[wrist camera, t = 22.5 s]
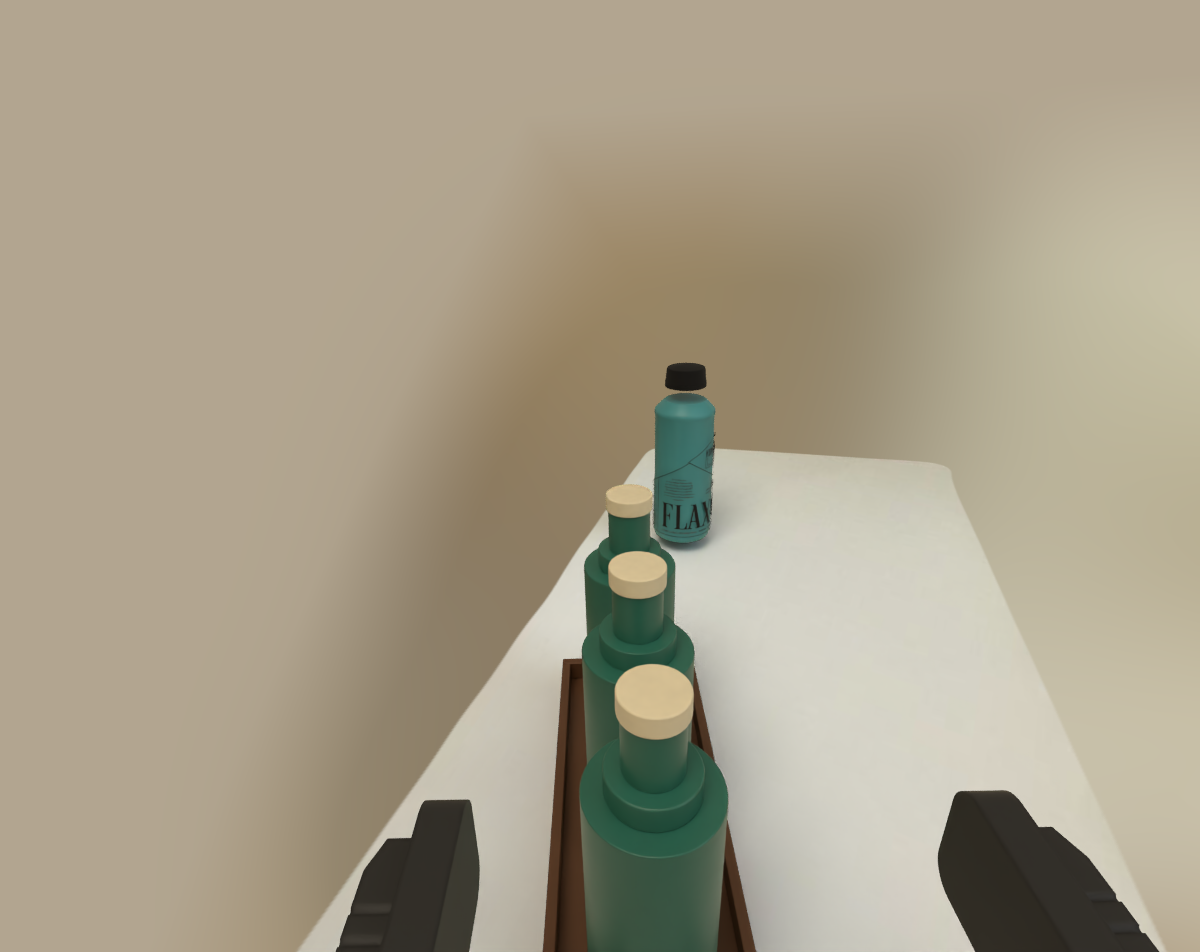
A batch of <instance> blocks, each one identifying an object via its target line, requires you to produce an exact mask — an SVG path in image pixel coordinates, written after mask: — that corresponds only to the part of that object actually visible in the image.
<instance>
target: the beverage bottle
mask: <svg viewBox="0 0 1200 952" xmlns="http://www.w3.org/2000/svg"><path fill="white" fill-rule="evenodd" d="M665 386H666V387H667V388H669V389H673V390H679V391H693V390H699V389H703V388H705V387H706V370H705V367H704V366H703V365H700V364H696V363H677V364H672V365H670V366H668V368H667V373H666V380H665ZM714 415H715V407H714V406H713V405H712V404H711V403H710V402H709V401H708V400H707V399H706V398H705V397H704V396H701V395H698V394H692V393H679V394H673V395H669V396H667V397H666V398H664V399H663V400H662V401H661V402H660V403H659V404H658V405H657V406H656V407H655V478H654V484H653V485H654V495H653V496H654V506H653V507H654V510H653V508H652V511H654V514H653V515H654V516H653V517H654V521H653V522H654V523H653V524H654V526H653V527H654V529H655V532H656V534H657V535H658V536H660V537H661V538H663V539H665V540H668V541H672V542H680V543H686V542H694V541H697V540H700V539H702V538H704V537H705V536H706V535H707V533H708V530H709V529H710V528H709V526H710V524H711V523H710V519H711V518H710V514H712V506H711V505H712V499H711V490H712V489H711V487H712V486H713V484H712V485H711V483H713V482H712V480H713V479H712V475H713V474H712V465H713V464H712V462H714V461H713V459H714V458H713V457H714V456H713V455H714V450H715V445H713V443H714V440H713V439H714V436H715V435H714ZM713 466H714V465H713ZM712 494H713V493H712ZM653 524H652V525H653Z"/></svg>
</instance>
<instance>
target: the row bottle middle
mask: <svg viewBox="0 0 1200 952" xmlns="http://www.w3.org/2000/svg"><path fill="white" fill-rule="evenodd" d="M608 575H609V586H610V588H611V589H612V613H611V614H609V615H608V616H607V617H606V618H604V620H603V621H602V623H601V624H599V625H598V626H596V627H595V628H594V629H593V630H592V631H591V632H590V633H589V634H588V635H587V637H586V638H585V640H584V643H583V646H582V667H583V688H584V710H585V732H586V754H587V764H588V762H589V761H590V759H591V758H592V757H593V756H594V754H595V753H596V752H598V751H599V750H600V749H601V748H602V747H604V746H605V745H606V744H608V743H610V742H611V741H613V740H615V739H618V738H619V721H618V719H617V717H616V714H615V686H616V683H617V681H618V679H619V678H620V677H621V676H622V674H624V673H625V672H626V671H628V670H629V669H631V668H634V667H636V666H640V665H646V664H659V665H665V666H668V667H671V668H674V669H676V670H678V671H679V672H681V673H682V674H683V675H685V676H686V677H687V678H688V680H689V681H690V683H691V685H692V687H693V678H694V654H695V652H694V646H693V643H692V641H691V639H690V638H689V636H688V635H687V634H686V633H685V632H684V631H683V630H682V629H681V628H680V627H678V626H677V625H675V624H674V622H673V621H672V619H671V618H670V617H668V616H667V615H666V614H664V613H663V601H664V589H665V588H666V585H667V564H666V562H665V561H664V560H663V559H662V558H661V557H659V556H657V555H655V554H652V553H649V552H642V551H633V552H626V553H622V554H620V555H618V556H616V557H614V558H613V559H612V560H611V561H610V563H609V565H608ZM691 727H692V720H691V722H690V724H689V725H688V741H689V742H691Z"/></svg>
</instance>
